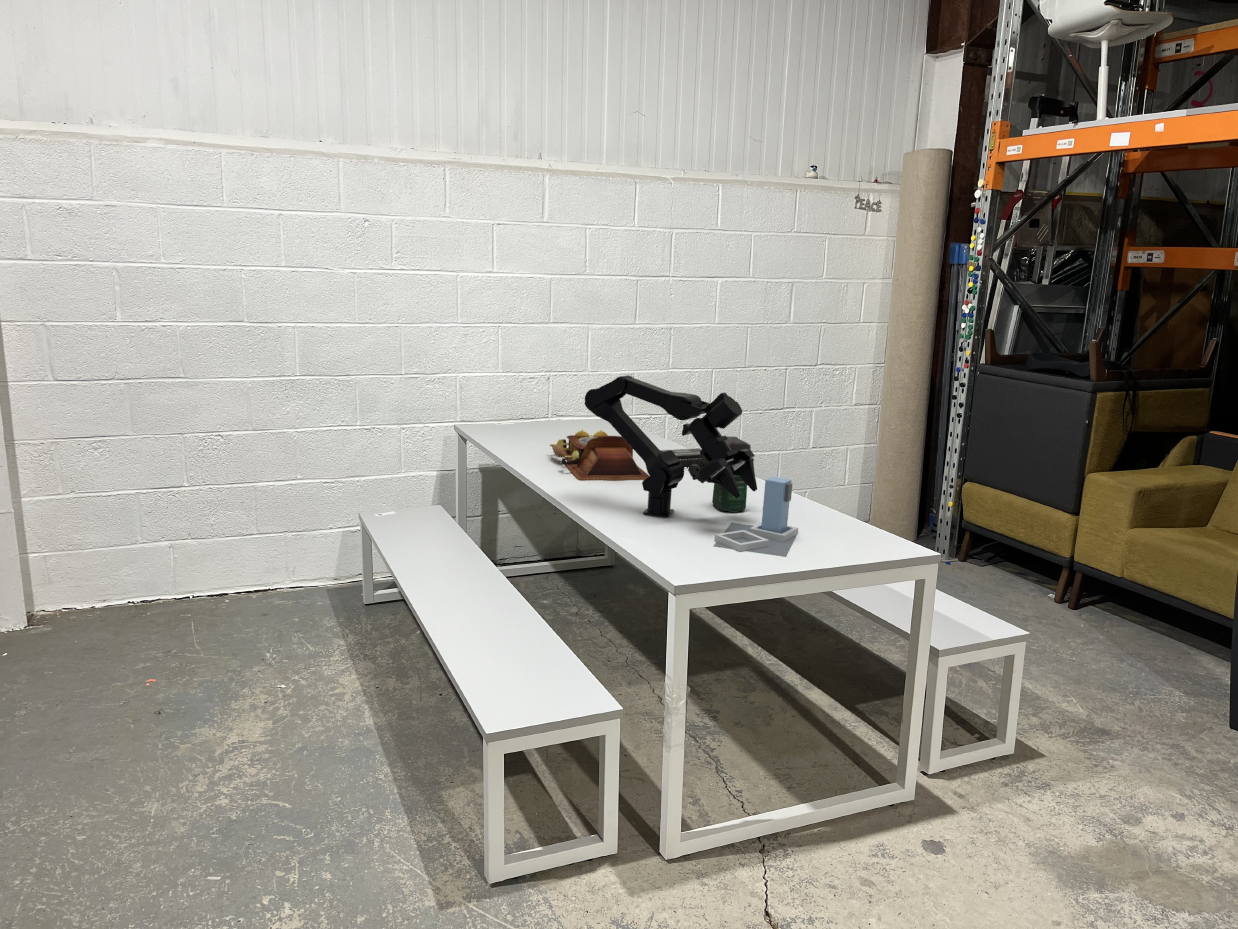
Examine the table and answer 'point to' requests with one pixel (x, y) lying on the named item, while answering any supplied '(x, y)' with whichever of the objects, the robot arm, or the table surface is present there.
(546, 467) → the table surface
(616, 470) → the brown wooden toy
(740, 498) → the coffee jar
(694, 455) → the dark piece
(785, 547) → the panel
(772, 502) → the plug
